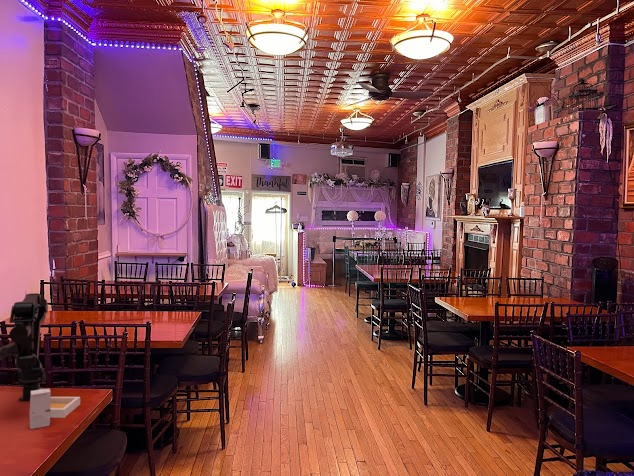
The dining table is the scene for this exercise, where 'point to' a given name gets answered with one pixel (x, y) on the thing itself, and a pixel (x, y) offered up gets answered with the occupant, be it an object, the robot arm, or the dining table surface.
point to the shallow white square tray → (63, 412)
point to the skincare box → (40, 408)
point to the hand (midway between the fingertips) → (24, 377)
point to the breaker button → (57, 405)
